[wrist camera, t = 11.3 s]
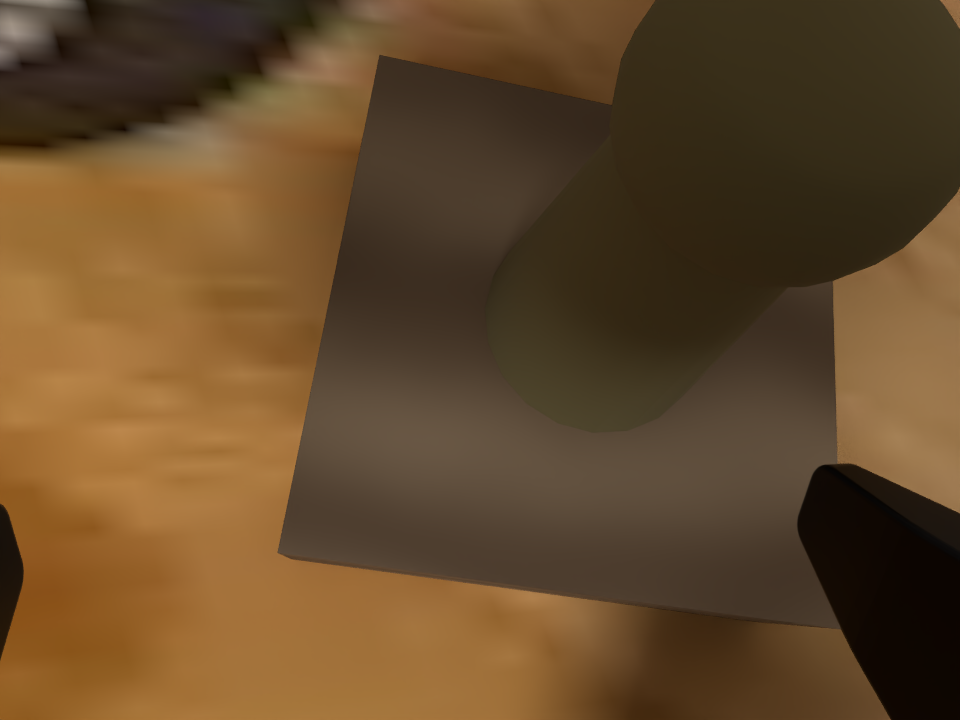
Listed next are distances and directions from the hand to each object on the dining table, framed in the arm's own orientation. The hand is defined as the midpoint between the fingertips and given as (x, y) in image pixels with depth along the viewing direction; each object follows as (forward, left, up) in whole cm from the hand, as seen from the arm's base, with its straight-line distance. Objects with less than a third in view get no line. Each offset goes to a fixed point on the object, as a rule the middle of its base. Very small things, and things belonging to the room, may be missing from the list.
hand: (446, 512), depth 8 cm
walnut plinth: (+7, -4, -14) cm, 16 cm away
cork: (+7, -4, -10) cm, 13 cm away
